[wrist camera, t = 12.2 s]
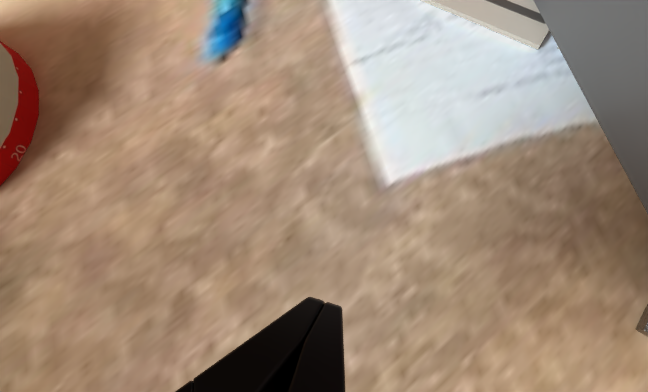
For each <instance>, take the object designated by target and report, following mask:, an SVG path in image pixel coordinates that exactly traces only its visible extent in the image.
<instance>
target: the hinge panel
mask: <svg viewBox="0 0 648 392" xmlns="http://www.w3.org/2000/svg"><path fill="white" fill-rule="evenodd" d="M533 1H534V2H535V4H536V6H537V8H538V10H539V12H540V14H541V15H542V17H543V19H544V21H545V23H546V25H547V27H548V29H549V30H550V32H551V34H552V36H553V38H554V40H555V42H556V43H557V45H558V47H559V49H560V51H561V53H562V55H563V57H564V58H565V60H566V62H567V64H568V66H569V68H570V70H571V71H572V73H573V75H574V77H575V79H576V81H577V83H578V85H579V86H580V88H581V90H582V92H583V94H584V96H585V98H586V99H587V101H588V103H589V105H590V107H591V109H592V111H593V113H594V114H595V116H596V118H597V120H598V122H599V124H600V126H601V128H602V129H603V131H604V133H605V135H606V137H607V139H608V141H609V142H610V144H611V146H612V148H613V150H614V152H615V154H616V156H617V157H618V159H619V161H620V163H621V165H622V167H623V169H624V170H625V172H626V174H627V176H628V178H629V180H630V182H631V184H632V185H633V187H634V189H635V191H636V193H637V195H638V197H639V198H640V200H641V202H642V204H643V206H644V208H645V210H646V212H647V213H648V0H533Z"/></svg>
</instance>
